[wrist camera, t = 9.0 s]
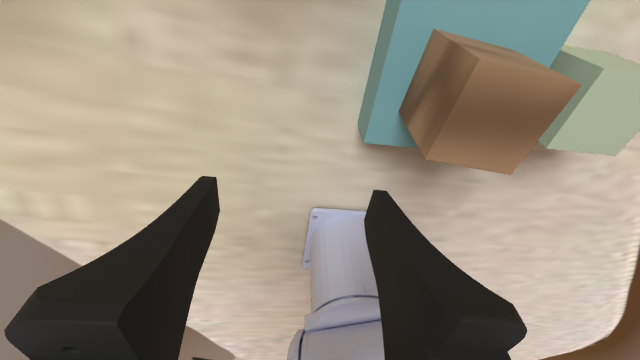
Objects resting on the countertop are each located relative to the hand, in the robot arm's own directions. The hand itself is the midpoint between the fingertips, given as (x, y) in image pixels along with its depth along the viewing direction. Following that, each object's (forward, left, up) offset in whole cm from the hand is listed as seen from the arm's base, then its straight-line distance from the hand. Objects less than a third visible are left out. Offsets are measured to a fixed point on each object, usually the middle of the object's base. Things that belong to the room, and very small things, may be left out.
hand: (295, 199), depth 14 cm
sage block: (+4, -18, -11) cm, 21 cm away
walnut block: (+4, -9, -7) cm, 12 cm away
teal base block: (+4, -10, -11) cm, 15 cm away
